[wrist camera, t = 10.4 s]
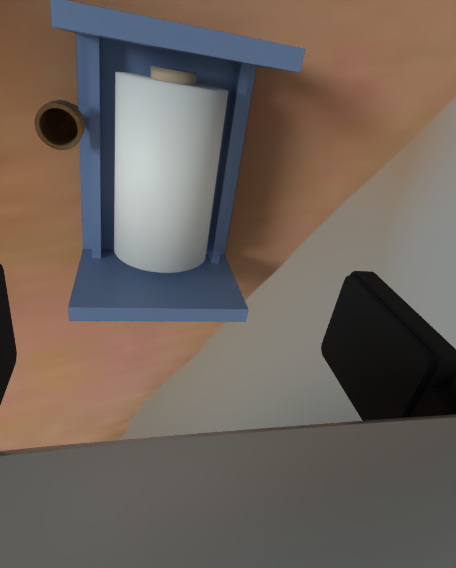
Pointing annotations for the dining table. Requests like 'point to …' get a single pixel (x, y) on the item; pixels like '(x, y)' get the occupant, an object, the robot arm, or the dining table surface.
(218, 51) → the holder
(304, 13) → the dining table surface
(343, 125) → the dining table surface
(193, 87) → the roll
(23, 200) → the dining table surface
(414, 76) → the dining table surface
